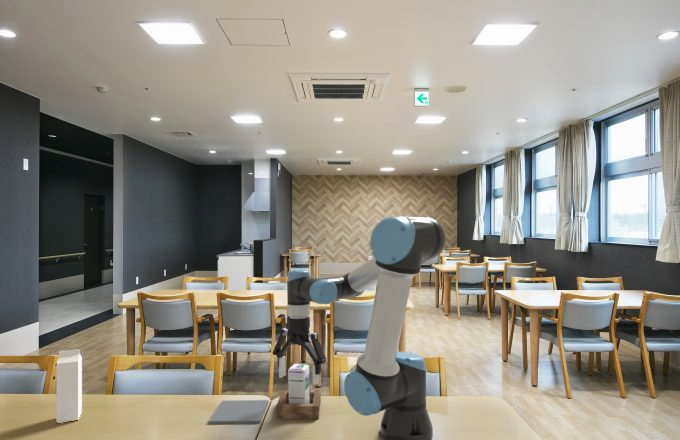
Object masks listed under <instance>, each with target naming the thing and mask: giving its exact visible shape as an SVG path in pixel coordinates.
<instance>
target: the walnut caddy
mask: <svg viewBox="0 0 680 440" xmlns="http://www.w3.org/2000/svg"><path fill="white" fill-rule="evenodd" d="M321 394H322V393H321V389H311V390H310V404H289V389H288V390H287V389H285V390H283V389H282V390H281V392H280V394H279V397H278V400H277V403H276V406H275V419H276V420H318V419H319V418H320V410H321V403H322V402H321V397H322V395H321Z"/></svg>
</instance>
